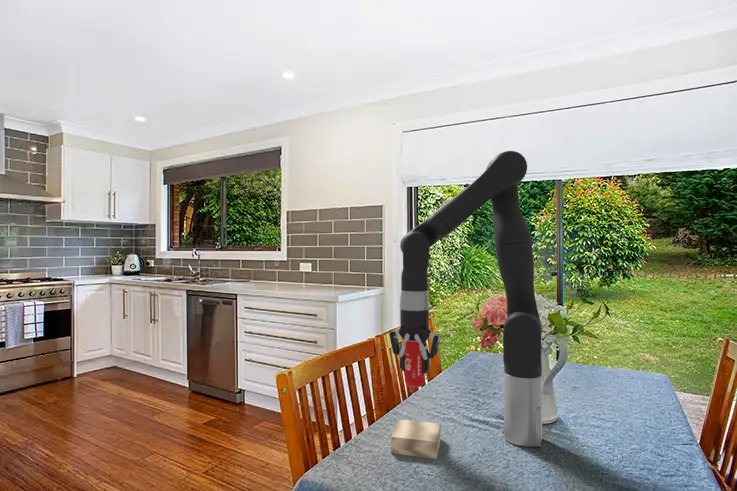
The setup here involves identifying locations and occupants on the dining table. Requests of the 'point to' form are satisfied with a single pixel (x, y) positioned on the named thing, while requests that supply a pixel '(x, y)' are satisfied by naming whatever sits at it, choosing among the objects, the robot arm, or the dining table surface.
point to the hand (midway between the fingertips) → (414, 371)
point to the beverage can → (413, 364)
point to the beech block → (416, 438)
